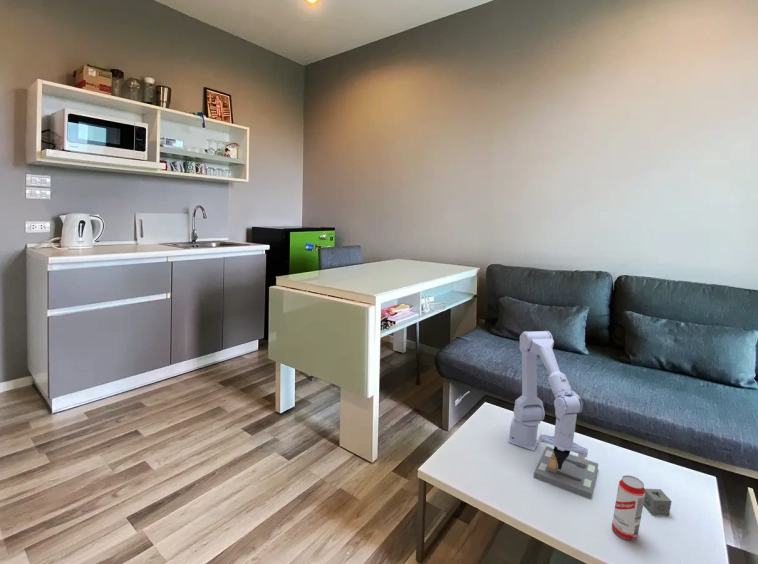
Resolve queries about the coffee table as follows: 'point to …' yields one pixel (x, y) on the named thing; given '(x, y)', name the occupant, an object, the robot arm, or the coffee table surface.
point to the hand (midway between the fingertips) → (559, 467)
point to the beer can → (628, 507)
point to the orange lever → (553, 465)
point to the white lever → (581, 461)
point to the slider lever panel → (568, 474)
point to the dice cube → (657, 502)
